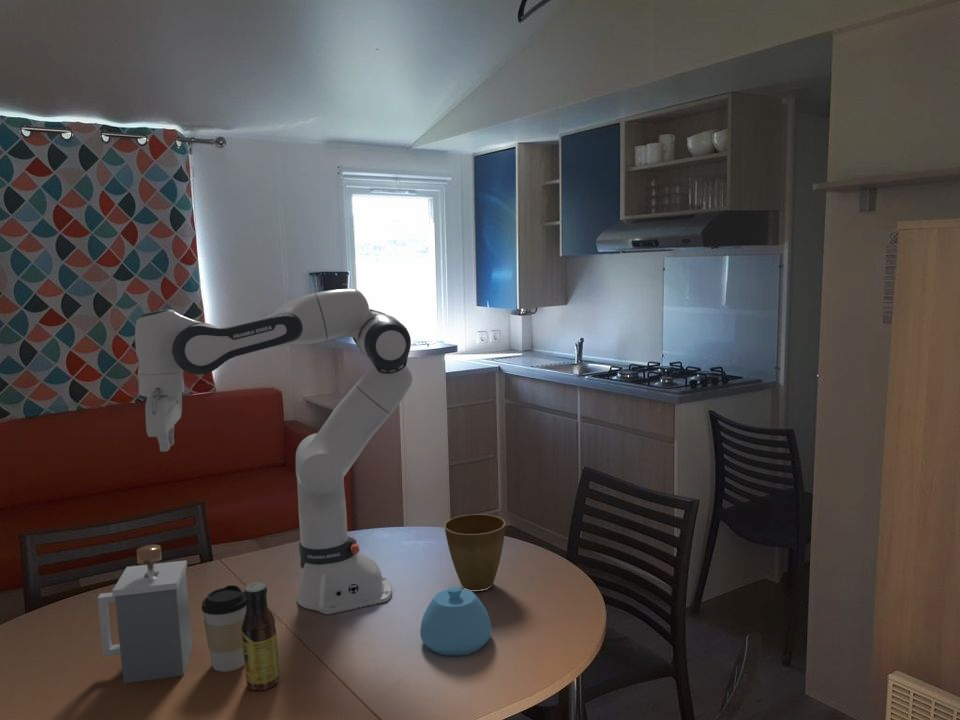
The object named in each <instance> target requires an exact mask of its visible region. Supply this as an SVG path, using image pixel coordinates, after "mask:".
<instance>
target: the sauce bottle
mask: <svg viewBox="0 0 960 720" xmlns="http://www.w3.org/2000/svg"><path fill="white" fill-rule="evenodd" d="M267 588H268V587H267V584H266V583H264V582H259V581H258V582H252V583H250V584H248V585H246V586H245V587H244V591H243V592H245V597H246V605H247V606H246V613H245V617H244V620H243V624H242V627H241V631H242V643H243V655H244V666H243V667H244V675H245V676H244V677H245V681H246V685H247V688H249V690H252V691H264V690H268V689H271V688H273V687H275V685H277V683H278V682H279V680H280V674H279V673H280V667H279V654H278V642H277V641H278V639H277V628H276V625H275V624H276V620H275V615H274V614H273V613H272V611H271V610H270V609H269V608H268V602H267V600H268V599H267V592H268V589H267Z"/></svg>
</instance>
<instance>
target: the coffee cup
mask: <svg viewBox="0 0 960 720" xmlns="http://www.w3.org/2000/svg"><path fill="white" fill-rule="evenodd" d="M246 606H247V605H246V597H245V591H243V590H242V589H241V588H240V587H239V586H237V585H232V584H231V585H227V586H224V587H222V588H221V587H220V588H217V589H215V590H213V591H211V592H209V593H208V594H207V596H206V597H205V598H204V599H203V600H202V603H201V610H202V612H203V618H204V619H203V624H204V629H205V636H206V640H207V641H206V642H207V646H208V649H209V655H210V660H211V666H212V668H213V670H215V671H218V672H223V673H224V672H225V673H226V672H232V671H235V670H238V669H240V668H242V667H244V655H243V643H242V631H241V627H242V624H243V620H244V617H245V613H246Z"/></svg>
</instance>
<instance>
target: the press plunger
mask: <svg viewBox="0 0 960 720" xmlns="http://www.w3.org/2000/svg"><path fill="white" fill-rule="evenodd" d="M161 547H162V546H161V545H160V544H148V545H147V544H146V545H143V546H141V547H138V548H137V549H136V558H137V559H136V560H137V564H138V565H147V571H148V578H149V577H155V575H154V564H157V563H158V562H160V561H161V560H162V557H163V556H162V548H161Z"/></svg>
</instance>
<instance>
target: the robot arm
mask: <svg viewBox="0 0 960 720" xmlns="http://www.w3.org/2000/svg"><path fill="white" fill-rule="evenodd" d="M134 332H135V333H134V341H135V353H136V356H137V359H138V370H137V377H138V389H139V395H140V396H141V397H146V401H145V408H144V410H145V411H144V412H145V426H146V427H145V429H146V430H145V431H146V434H147V436H148V437H149V438H156V439H157V441H158V444H159V445H158V446H159V451H160V452H162V453H163V452H164V453H165V452H169V450H170V449H171V447H173V445H174V443H175V440H174V439H175V438H174V436H175V434H174V433H175V425H176V424H177V423H178V422H179V420H180V419H181V417H182V413H183V393H184V392H185V380H184V372H186V373H188V374H192V375H194V376H195V375H197V376H199V375H206V374H209V373H212V372H214V371H215V370H217V369H218V368H220V367H221V366H222V365H223V364H225V363H226V362H228V361H229V360H231V359H233V358H235V357H236V358H237V357H239V356H243V355H246V354H251V353H253V352H257V351H261V350H265V349H269V348H273V347H282V346H298V345H299V346H300V345H301V346H302V345H311V344H319V343H322V342H327V341H329V340H335V339H337V338H339V337H340V338H344V337H347V338H348V337H349V338H352V339H353V342H354V343H355V345H356V346H357V348H358V349H359V350H360V351H361V352H362V354H363V355H364V356H365V357H366V358H368V362H369V363H368V367H367V369H366V371H365V373H364V375H362V376H361V377H360V379H359V380H358V381H357V382H356V383H355V384H354V385H353V387H352V388H351V389H350V390H349V391H348V392H347V393H346V394H345V395H344V397H343V398H342V399H341V400H340V402H339V403H337V405H336V406H335V407H334V409H333V410H332V412H331V413H330V415H329V416H328V418H327V419H326V421H325V422H324V423H323V425H322V426H321V427H320V429H319V431H318V432H316V433H312V434H309V435H308V436H306V437H305V438H304V439H302V440H301V441H300V442H299V444H298V446H297V448H296V451H295V476H296V484H297V485H296V486H297V501H298V502H297V504H298V507H297V508H298V520H299V536H300V537H299V538H300V541H299V543H298V545H299V546H298V558H299V560H298V562H299V564H300V567H301V568H300V569H301V571H300V584H299V590H298V594H297V595H298V596H297V598H296V599H297V604H298V605H299V606H301V607H303V608H305V609H307V610H313V611H317V612H320V613H322V614H324V615H331V614H332V615H333V614H336V613H340V612H345V611H350V610H354V609H359V607H360V608H362V607H363V606H364V607H368V606H367V605H369V606H374V605H377V604H376V603H378V604H381V603H382V602H383V603H386V602H388V601H389V600H390V599H391V597H392V595H393V587H392V584H391V582H390V580H389V579H388V578H387V577H385V576H383V575H382V572H381V569H380V567H379V565H378V564H377V563H376V561H375V560H374V559H372V558H370V557H368V556H366V555H365V554H363V553H361V552H360V545H359V544H358V543H357V540H356V539H355V537H354V536H349V535H348V523H347V522H348V521H347V520H348V518H347V506H346V505H347V503H346V495H345V494H346V492H345V480H344V477H345V476H346V475H347V473H348V472H349V470H350V469H351V468H352V466H353V465H354V464H355V462H356V461H357V459H359V456H360V455H361V454H362V452H363V450H364V449H365V447H366V446H367V444H368V443H369V441H370V440H371V439H372V437H373V436H374V435H375V434H376V433H377V432H378V430H379V429H381V427H382V425H384V423H385V422H386V421H387V420H388V418H389V417H390V416H391V415H392V413H393V412H394V411H395V410H396V409H397V408H398V406H399V405H400V404H401V402H402V401H403V399H404V397H405V396H406V394H407V393H408V391H409V390H410V387H411V386H412V383H413V374H412V372H411V370H410V369H409V367H408V366H407V363H408V359H409V358H408V357H409V354H410V351H411V346H412V344H411V343H412V340H411V335H410V332H409V330H408V328H407V327H406V326H405V325H404V324H403V323H401V322H400V321H399V320H398V319H397V318H395V317H393V316H391V315H388V314H386V313H385V312H381V311H379V310H375V309H371V308H369V302H368V300H367V299H366V297H365V295H364V294H363V293H362V292H361V291H359V290H358V289H356V288H355V289H354V288H340V289H339V288H338V289H329V290H324V291H323V290H322V291H319V292H313V293H309V294H306V295H303V296H299V297H297V298H295V299H293V300H292V299H291V300H290V301H288V302H286V303H284V304H283V305H282V306H280V307H279V308H278V309H277V310H276V311H273V313H271V314H269V315H267V316H265V317H262V318H259V319H256V320H253V321H252V320H251V321H247V322H243V323H240V324H239V323H238V324H235V325H232V326H227V327H221V328H220V327H217V326H215V325H214V324H210V323H208V322H203V321H199V320H195V319H192V318H190V317H187V316H184V315H182V314H180V313H178V312H177V311H175V310H174V309H173V308H163V309H158V310H154V311H150V312H145V313H144V314H142V315H140V316H139V317H138V319H136V323H135V329H134ZM364 607H363V608H364Z"/></svg>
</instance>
